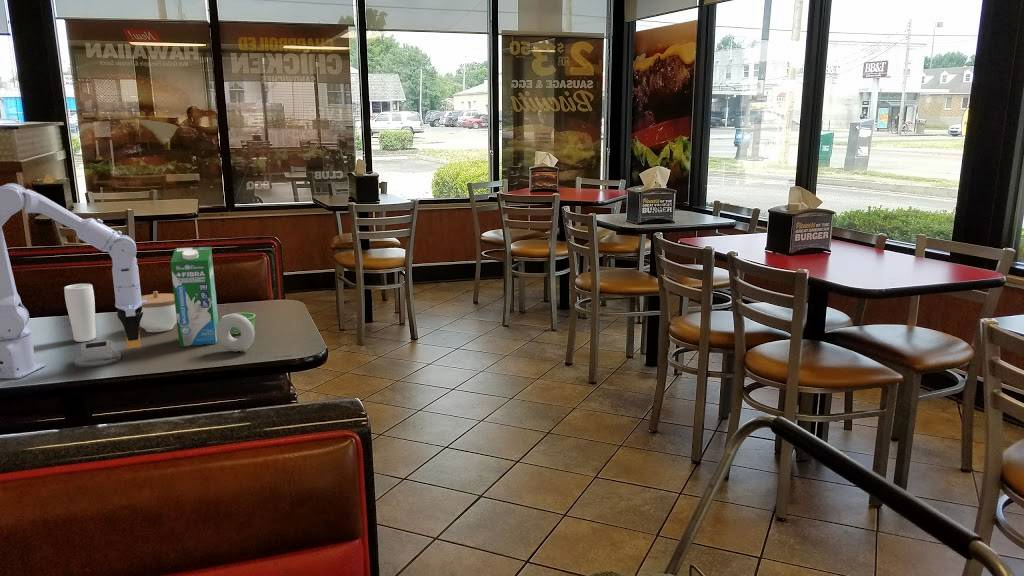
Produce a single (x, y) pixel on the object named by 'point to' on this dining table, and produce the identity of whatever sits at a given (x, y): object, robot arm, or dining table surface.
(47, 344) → the dining table surface
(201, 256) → the milk carton
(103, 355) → the grey square frame
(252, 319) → the ramekin
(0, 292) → the robot arm
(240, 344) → the donut
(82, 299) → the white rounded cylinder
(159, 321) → the lidded bowl
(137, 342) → the orange block
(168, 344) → the dining table surface
